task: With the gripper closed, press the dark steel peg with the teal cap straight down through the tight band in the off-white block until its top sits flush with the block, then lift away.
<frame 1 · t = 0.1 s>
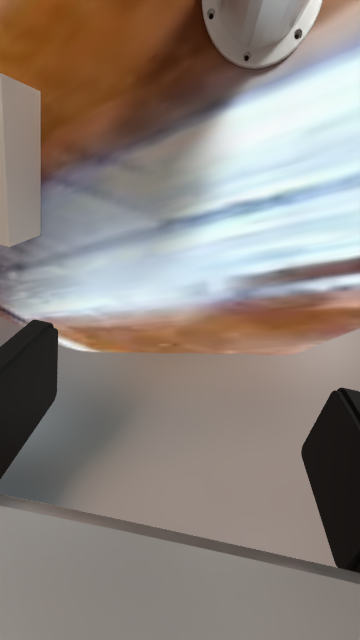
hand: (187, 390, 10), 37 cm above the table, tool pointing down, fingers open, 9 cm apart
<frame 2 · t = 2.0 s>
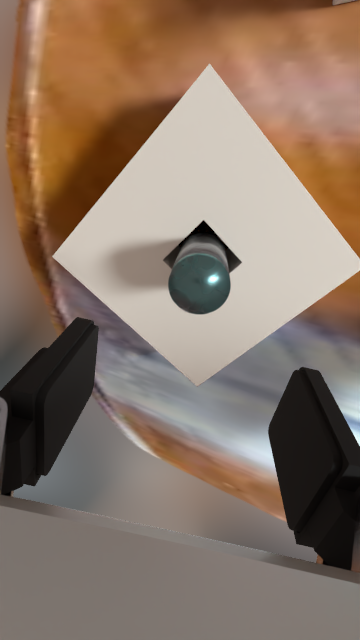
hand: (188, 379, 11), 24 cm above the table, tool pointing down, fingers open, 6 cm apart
peg: (201, 269, 23), point 10 cm above the table, slide at 6.0 cm
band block: (204, 241, 32), on the table
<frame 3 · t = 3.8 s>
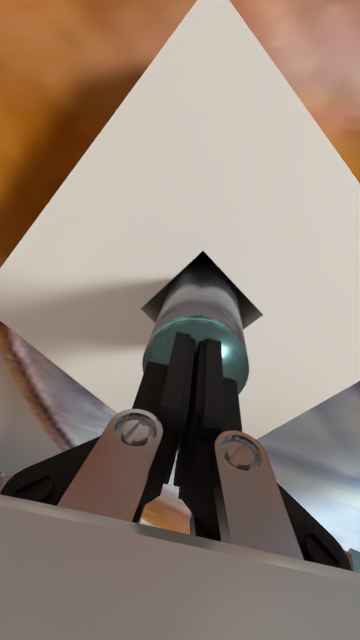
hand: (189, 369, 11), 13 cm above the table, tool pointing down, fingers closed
peg: (199, 324, 15), point 9 cm above the table, slide at 5.3 cm, touching gripper
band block: (205, 268, 23), on the table
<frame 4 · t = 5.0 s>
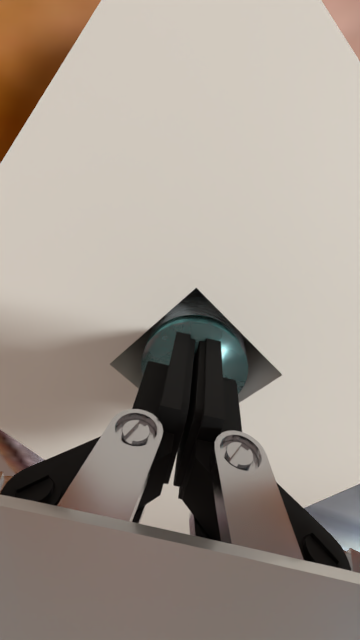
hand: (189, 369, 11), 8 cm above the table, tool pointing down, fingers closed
peg: (198, 324, 15), point 4 cm above the table, slide at 0.0 cm, touching gripper
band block: (201, 293, 19), on the table
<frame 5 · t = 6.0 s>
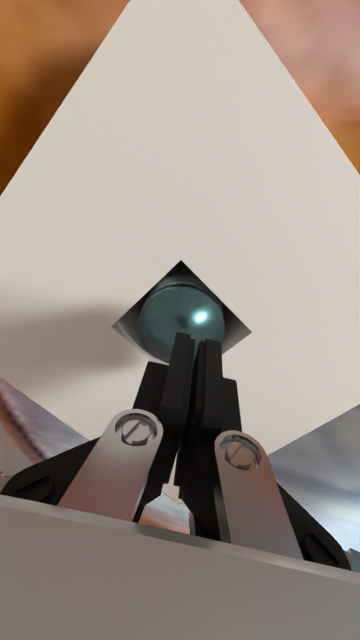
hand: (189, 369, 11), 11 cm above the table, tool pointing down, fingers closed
peg: (185, 298, 17), point 4 cm above the table, slide at 0.0 cm
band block: (188, 275, 21), on the table
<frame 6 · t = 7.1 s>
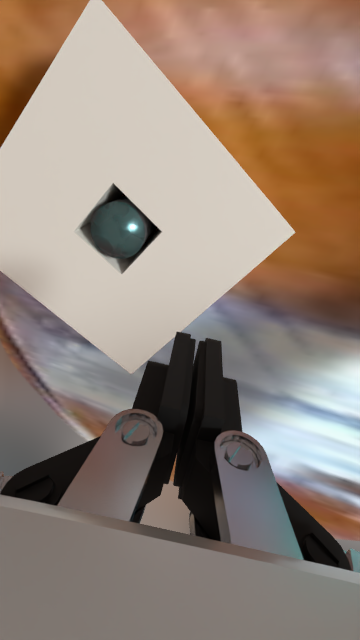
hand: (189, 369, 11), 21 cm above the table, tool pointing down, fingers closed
peg: (128, 223, 26), point 4 cm above the table, slide at 0.0 cm
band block: (137, 216, 29), on the table
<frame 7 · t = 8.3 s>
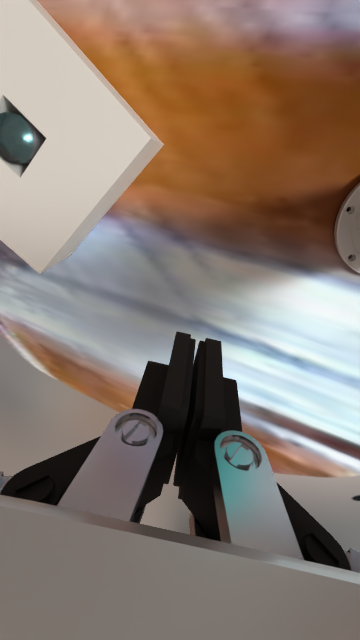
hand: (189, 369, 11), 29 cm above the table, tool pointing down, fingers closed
peg: (33, 141, 31), point 4 cm above the table, slide at 0.0 cm
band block: (53, 144, 35), on the table
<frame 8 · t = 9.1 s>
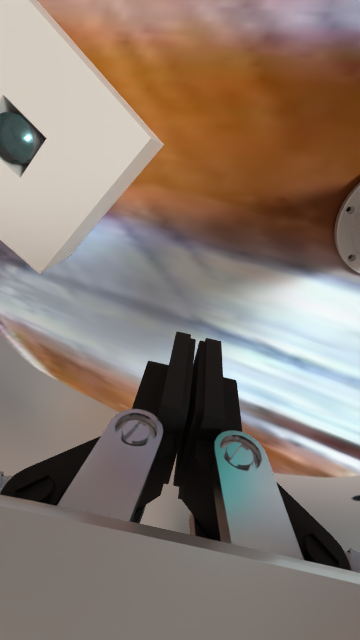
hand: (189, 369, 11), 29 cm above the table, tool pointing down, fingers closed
peg: (34, 141, 31), point 4 cm above the table, slide at 0.0 cm
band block: (53, 144, 35), on the table
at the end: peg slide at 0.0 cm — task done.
